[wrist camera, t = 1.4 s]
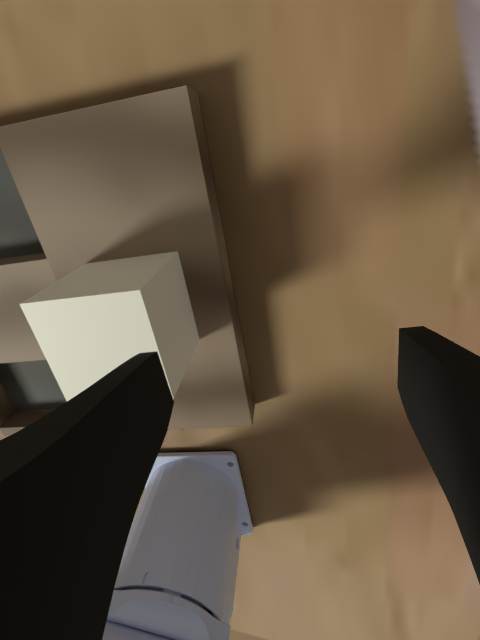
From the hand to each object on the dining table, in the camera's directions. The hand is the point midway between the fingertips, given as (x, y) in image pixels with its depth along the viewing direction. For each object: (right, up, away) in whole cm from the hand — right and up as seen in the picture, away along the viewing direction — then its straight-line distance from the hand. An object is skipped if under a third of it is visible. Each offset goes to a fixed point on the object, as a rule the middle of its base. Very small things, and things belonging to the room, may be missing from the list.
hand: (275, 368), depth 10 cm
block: (-6, +2, +8) cm, 10 cm away
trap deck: (-14, +3, +11) cm, 18 cm away
